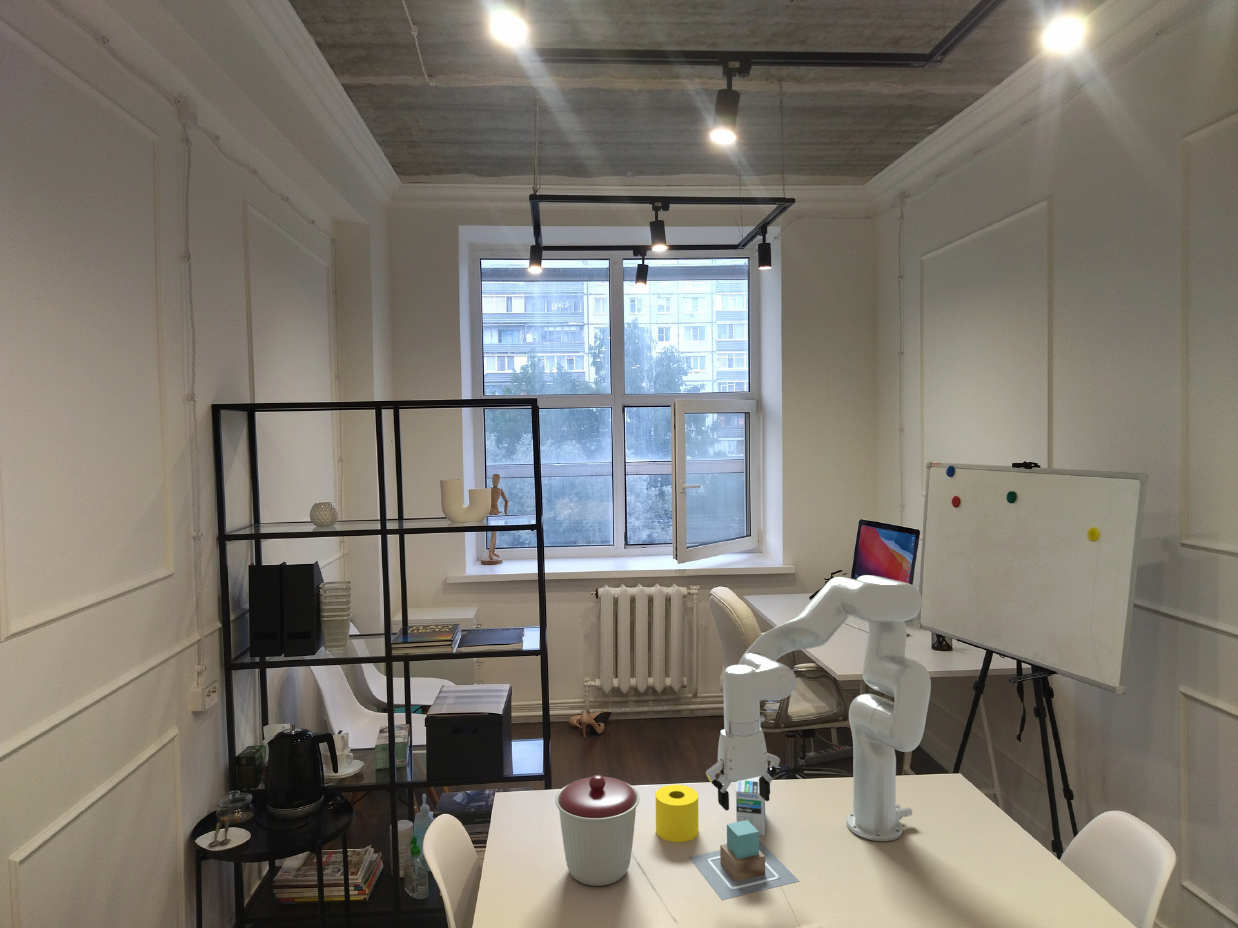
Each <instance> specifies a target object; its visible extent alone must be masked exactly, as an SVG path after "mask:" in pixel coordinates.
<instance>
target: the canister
mask: <svg viewBox="0 0 1238 928" xmlns="http://www.w3.org/2000/svg"><path fill="white" fill-rule="evenodd" d="M640 798H641V797H640V794H639V792H638V790H637V789H636V788H635V787H634V786H633V785H631V784H629V783H628V782H625V781H623V780H621V779H619V778H615V777H609V776H602V775H601V774H594V775H592V776H589V777H585V778H580V779H577V780H575V781H572V782H570V783H568V784H567V785H565V786H563V787H562V788H561V789H560V790H559V791H558V792H557V794H556V796H555V801H554V802H555V805H556V807H557V809H558V810H559V820H560V828H561V834H562V835H561V836H562V844H563V850H564V857H565V861H566V866H567V869H568V871H569V873H570V875H571V876H572V877H573V878H574V879H575V880H576V881H578V882H579V883H580V884H584V885H587V886H592V887H598V886H599V887H601V886H607V885H611V884H614V883H615V882H617V881H619V880H621V879H622V878H623V877H624V876H625V875H626V873H627V872H628V870H629V867H630V864H631V858H632V851H633V843H634V836H635V835H634V834H635V825H636V822H635V821H636V813H637V812H636V811H637V806H638V805H639V803H640Z"/></svg>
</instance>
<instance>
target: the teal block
mask: <svg viewBox="0 0 1238 928" xmlns="http://www.w3.org/2000/svg"><path fill="white" fill-rule="evenodd" d="M759 842H760V835H759V831H758V830H757V829H756V828H755V827H754V826H753V825H752V824H751V823H750V822H749V821H748V820H745V821H740V822H737V821H735V822H730V823H727V824H726V844H727V847H728V848H729V850H730V851H731V852H732V853H733V854H734V855H735V856H736V857H737V859H741V858H745V857H750V856H754V855H759Z"/></svg>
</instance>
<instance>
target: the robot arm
mask: <svg viewBox="0 0 1238 928" xmlns="http://www.w3.org/2000/svg"><path fill="white" fill-rule="evenodd" d="M922 597H923V596H922V594H921V592H920V591H919V590H918V588H917V587H916V586H915V585H913V584H910V583H908V582H904V581H900V580H897V579H896V580H895V579H892V578H891V579H890V578H888V577H883V576H879V575H878V576H877V575H870V574H866V575H865V574H863V575H861V576H859V577H857V578H856V579H855V578H850V577H847V576H846V577H844V576H836V577H832V578H831V579H829V580H828V581H827V582H826V583H824V585H823V587H821V589H820V590H819V591H818V592H817V594H815V596H814V597H813V598H812V599H811V600H810V601H809V602H808V603H807V605H806V606H805V607H804V608H803V609H802V610H800V612H799V614H797V616H795V617H794V618H793V619H791V620H788V621H786V622H784V623H782V624H779V625H777V626H776V627H773V628H771V629H769V630H767V631H765V632H764V633H762V634H761V635H760V636H759V637H757V638H756V640H755V641H754V642H752V644H751V645H750V646H749V647H748V648H747V649H746V650H745V652H744V653H743V655H742V656H741V657H740V659H739V661H738V663H737V664H733V665H729V666H727V667H726V668H724V670H723V673H722V688H723V689H722V690H723V692H722V693H723V694H722V695H723V696H722V697H723V721H724V722H723V724H724V729H721V730H720V734H719V738H718V739H719V740H718V747H717V762H715V764H713V765H712V766H711V767H710V768H708V769H707V770H706V771H705V775H706V776H707V778H708V780H709V782H710V783H711V784H712V785H713V786H714V787H715V788H716V789H717V801H718V804H719V806H721V807H722V809H724V811H726V812H727V811H729V810H730V794H729V791H728V788H729V787H730V785H731V783H735V782H736V783H737V781H741V780H746V779H750V778H755V777H759V776H761V777H759V794H760V796H761V797H762V798H763V799H764V800H765V802H769V801H770V795H771V783H772V781H773V777H774V776H775V774H776V773H777V772H778V769H777V768H778V767H779V764H780V762H781V759H780V757H778V756H777V755H776V754H775V755H774V754H771V753H769V752H768V751H767V743H766V739H765V734H764V732H763V728H762V726H761V724H762V723H764V722H766V717H765V716H764V715H762V714H760V713H761V712H760V711H761V710H760V702H761V701H775V700H776V701H777V700H782V699H783V700H784V699H785V698H788V697H789V696H791V695H792V693H794V691H795V689H796V688H797V676H796V675H795V673H794V671H793V670H792V669H791V668H790V667H789V666H787V665H785V664H783V663H781V662H778V661H777V660H778V659H779V658H781V657H782V656H784V655H786V654H788V653H791V652H795V651H799V650H807V649H814V648H819V647H824V646H825V645H826V644H828V643H829V641H830V640H831V638H832V637H833V636H834V635H835V634H836V632H838V630H839V629H840V628H842V626H843V625H844V623H845V622H846V621H847V620H848V619H849V618H852V619H855V620H856V619H857V620H859V621H862V622H867V623H868V638H867V643H866V649H865V650H866V651H865V654H864V655H865V656H864V661H863V668H862V677H863V678H862V679H863V681H864V683H865V684H866V685H868V687H870V688H872V689H873V690H876V691H878V692H881V693H883V694H884V695H887V696H890V697H892V698H894V702H893V701H892V700H890V699H887V698H884V697H881V696H879V695H876V694H873V693H863V694H860V695H857V696H856V697H855V698H854V699H853V700H852V702H851V703H850V705H849V709H848V710H849V711H848V718H849V719H848V720H849V724H850V725H849V726H850V730H851V736H852V745H853V746H852V747H853V763H852V764H853V766H852V767H853V768H852V769H853V772H852V773H853V774H852V775H853V780H852V781H853V784H852V785H853V787H852V788H853V800H852V801H853V803H852V804H853V805H852V806H853V810H852V812H850V813H849V814H848V815H847V817H846V825H847V828H848V829H849V830H850V832H852V833H853V834H855V835H857V836H858V837H860V838H863V839H866V840H870V841H875V842H889V841H894V840H897V839H898V838H900V837H901V836H903V829H904V828H903V825H902V822H901V820H902V819H903V818H905V817H906V818H907V817H910V816H911V817H912V815H913V810H912V808H911V807H909V806H906V807H902V808H901V806H900V804H898V803H896V801H897V799H896V797H897V795H896V794H897V793H896V792H897V789H896V788H897V779H896V778H897V777H896V776H897V757H896V751H898V752H899V751H900V752H904V753H908V752H912V751H914V750H915V749H916V748H918V746H919V745H920V744H921V741H922V738H923V735H924V731H925V728H926V727H925V726H926V721H927V713H928V709H929V703H930V696H931V687H932V684H931V677H930V674H929V671H928V670H927V668H926V667H925V666H924V665H923V664H922V663H920V662H919V661H916V660H914V659H912V658H908V657H906V646H907V645H906V644H907V636H908V633H907V626H906V623H905V622H907V621H910V620H912V619H914V618H915V617H917V616H918V614H919V613H920V611H921V609H922V607H923V598H922ZM895 750H896V751H895ZM768 761H769V762H770V764H768V763H769V762H768ZM717 774H719V777H718V779H717V778H716V775H717Z"/></svg>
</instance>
